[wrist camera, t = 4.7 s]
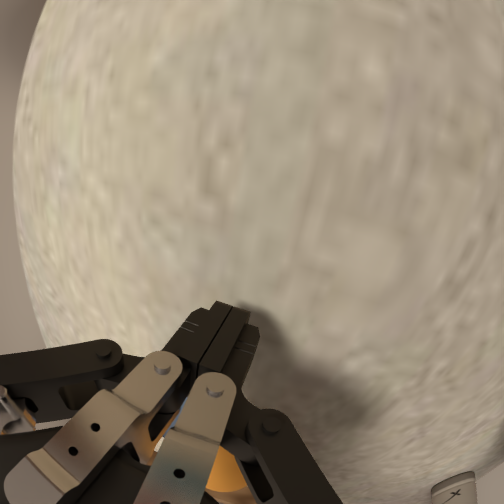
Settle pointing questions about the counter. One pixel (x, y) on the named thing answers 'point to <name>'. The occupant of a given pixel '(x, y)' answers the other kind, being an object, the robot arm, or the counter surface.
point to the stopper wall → (239, 500)
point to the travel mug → (456, 490)
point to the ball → (225, 473)
